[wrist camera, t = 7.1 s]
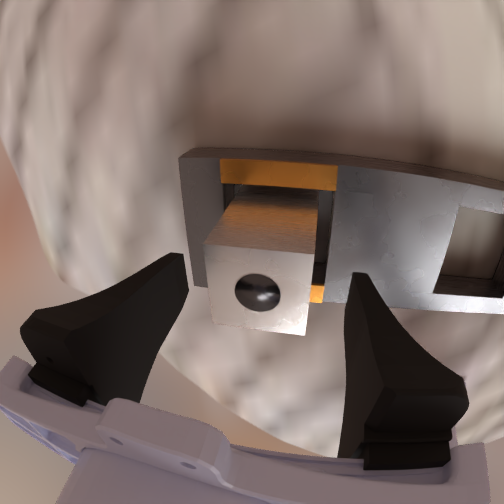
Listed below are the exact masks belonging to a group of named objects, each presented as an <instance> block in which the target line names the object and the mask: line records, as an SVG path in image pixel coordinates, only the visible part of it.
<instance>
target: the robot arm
mask: <svg viewBox="0 0 504 504" xmlns="http://www.w3.org/2000/svg"><path fill="white" fill-rule="evenodd" d="M188 292H189V288H188V281H187V275H186V269H185V262H184V256H183V254H180V253H169V254H167V255H165V256H163V257H161V258H160V259H158V260H156V261H155V262H153V263H152V264H150V265H148V266H147V267H145V268H143V269H142V270H140V271H138V272H137V273H135V274H133V275H132V276H130V277H128V278H126V279H125V280H123V281H121V282H119V283H117V284H115V285H113V286H111V287H109V288H107V289H105V290H103V291H101V292H98V293H96V294H93V295H91V296H88V297H85V298H83V299H80V300H77V301H74V302H70V303H67V304H63V305H59V306H55V307H49V308H44V309H38V310H35V311H34V312H33V313H32V315H31V316H30V317H29V318H28V319H27V321H25V322H24V324H23V325H22V326H21V327H20V334H21V337H22V340H23V341H24V343H25V345H26V347H27V348H28V350H29V351H30V353H31V355H32V356H33V358H34V359H35V360H36V362H37V363H36V364H35V365H34V367H32V366H31V365H30V364H29V363H28V362H26V361H24V360H22V359H20V358H18V357H16V356H12V358H11V359H10V360H9V362H8V363H7V364H6V365H5V366H4V368H3V369H2V370H1V372H0V410H1V411H2V412H3V413H4V414H5V416H6V417H8V419H9V420H10V421H11V422H12V423H13V424H14V425H16V426H17V427H19V428H20V429H22V430H23V431H24V432H26V433H27V434H29V435H30V436H32V437H33V438H35V439H36V440H37V441H39V442H40V443H42V444H43V445H45V446H46V447H48V448H49V449H51V450H52V451H54V452H55V453H57V454H59V455H60V456H62V457H63V458H65V459H67V460H68V461H70V462H71V463H73V464H75V467H74V469H73V470H72V472H71V474H70V476H69V478H68V480H67V482H66V484H65V486H64V488H63V490H62V492H61V494H60V496H59V498H58V500H57V501H56V503H55V504H489V503H490V502H491V500H490V487H489V476H488V468H487V460H486V453H485V446H484V443H482V442H481V443H474V444H466V445H459V446H458V442H457V435H456V428H455V424H456V423H457V422H458V421H459V420H460V419H461V418H462V417H463V415H464V414H465V412H466V411H467V409H468V407H469V400H468V395H467V390H466V384H465V382H464V381H463V378H462V377H461V376H459V375H458V374H456V373H455V372H453V371H452V370H450V369H448V368H447V367H445V366H444V365H443V364H441V363H440V362H439V361H438V360H436V359H435V358H434V357H433V356H431V355H430V354H429V353H428V352H427V351H426V350H425V349H423V348H422V347H421V346H420V345H419V344H418V343H417V342H416V341H415V340H414V339H413V338H412V337H411V336H410V335H409V333H408V332H407V331H406V330H405V329H404V328H403V327H402V325H401V324H400V323H399V322H398V320H397V319H396V318H395V316H394V315H393V314H392V312H391V311H390V309H389V308H388V306H387V305H386V303H385V302H384V300H383V299H382V297H381V295H380V294H379V292H378V290H377V289H376V287H375V285H374V284H373V282H372V280H371V278H370V276H369V275H368V274H367V273H360V272H353V273H352V278H351V283H350V288H349V293H348V298H347V302H346V307H345V317H344V342H345V359H346V393H345V405H344V414H343V423H342V431H341V438H340V444H339V450H338V456H337V458H331V457H318V456H308V455H298V454H290V453H282V452H275V451H268V450H261V449H256V448H250V447H244V446H240V445H234V444H230V442H229V440H228V439H227V438H226V436H225V435H224V434H223V432H222V431H220V430H218V429H217V428H215V427H213V426H212V425H210V424H207V423H204V422H201V421H199V420H196V419H192V418H188V417H184V416H181V415H177V414H173V413H170V412H166V411H162V410H159V409H155V408H153V407H149V406H146V405H143V404H140V400H141V397H142V393H143V390H144V387H145V384H146V381H147V379H148V376H149V373H150V370H151V368H152V365H153V363H154V361H155V358H156V355H157V353H158V351H159V349H160V347H161V345H162V344H163V342H164V340H165V338H166V337H167V335H168V333H169V331H170V330H171V328H172V326H173V324H174V323H175V321H176V319H177V317H178V315H179V314H180V312H181V310H182V308H183V305H184V303H185V300H186V298H187V295H188Z"/></svg>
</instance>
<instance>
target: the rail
mask: <svg viewBox="0 0 504 504" xmlns="http://www.w3.org/2000/svg"><path fill="white" fill-rule="evenodd" d="M178 160H179V170H180V180H181V189H182V198H183V207H184V215H185V223H186V231H187V239H188V246H189V253H190V260H191V267H192V274H193V281H194V286H199V287H207V288H208V282H207V274H206V266H205V257H204V248H203V243H204V242H205V240H206V239H207V237H208V236H209V234H210V233H211V231H212V230H213V228H214V227H215V225H216V224H217V222H218V221H219V219H220V218H221V216H222V215H223V213H224V212H225V210H226V209H227V207H228V206H229V204H230V203H231V202H232V200H233V199H234V185H233V184H249V185H266V186H280V187H294V188H306V189H318V190H329V191H333V201H332V211H331V220H330V230H329V238H328V247H327V255H326V263H325V264H320V263H314V264H313V273H312V282H311V291H310V299H309V302H317V303H322V301H326V302H336V303H346V302H347V298H348V293H349V288H350V283H351V278H352V273H353V272H360V273H367V274H368V275H369V276H370V278H371V280H372V282H373V284H374V285H375V287H376V289H377V290H378V292H379V294H380V295H381V297H382V299H383V300H384V302H385V303H386V305H387V306H388V307H394V308H407V309H421V310H436V311H453V312H472V313H495V314H504V252H503V254H502V257H501V260H500V262H499V265H498V267H497V270H496V272H495V275H494V277H493V279H492V280H487V279H476V278H465V277H455V276H444V275H439V273H440V270H441V267H442V264H443V261H444V258H445V254H446V251H447V248H448V245H449V241H450V238H451V234H452V231H453V227H454V224H455V220H456V216H457V212H458V208H459V206H460V207H466V208H472V209H477V210H483V211H488V212H493V213H499V214H504V182H501V181H497V180H493V179H489V178H484V177H480V176H475V175H470V174H466V173H461V172H456V171H451V170H445V169H440V168H434V167H429V166H423V165H416V164H410V163H404V162H397V161H390V160H382V159H374V158H366V157H358V156H348V155H339V154H328V153H316V152H303V151H287V150H268V149H239V148H192V149H191V150H189V151H188V152H186V153H185V154H183V155H182V156H180V157H179V158H178Z"/></svg>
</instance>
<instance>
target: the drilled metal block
mask: <svg viewBox="0 0 504 504" xmlns="http://www.w3.org/2000/svg"><path fill="white" fill-rule="evenodd" d="M318 199H319V190H318V189H306V188H294V187H280V186H266V185H249V184H243V186H242V187H241V188H240V190H239V191H238V193H237V194H236V196H235V197H234V199H233V200H232V202H231V203H230V204H229V206H228V207H227V209H226V210H225V212H224V213H223V215H222V216H221V218H220V219H219V221H218V222H217V224H216V225H215V227H214V228H213V230H212V231H211V233H210V234H209V236H208V237H207V239H206V240H205V242H204V243H203V248H204V257H205V266H206V274H207V282H208V290H209V298H210V306H211V314H212V321H213V323H215V324H222V325H228V326H235V327H242V328H249V329H256V330H263V331H271V332H279V333H287V334H296V335H305V330H306V323H307V315H308V307H309V299H310V291H311V282H312V273H313V264H314V254H315V242H316V229H317V215H318Z"/></svg>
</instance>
